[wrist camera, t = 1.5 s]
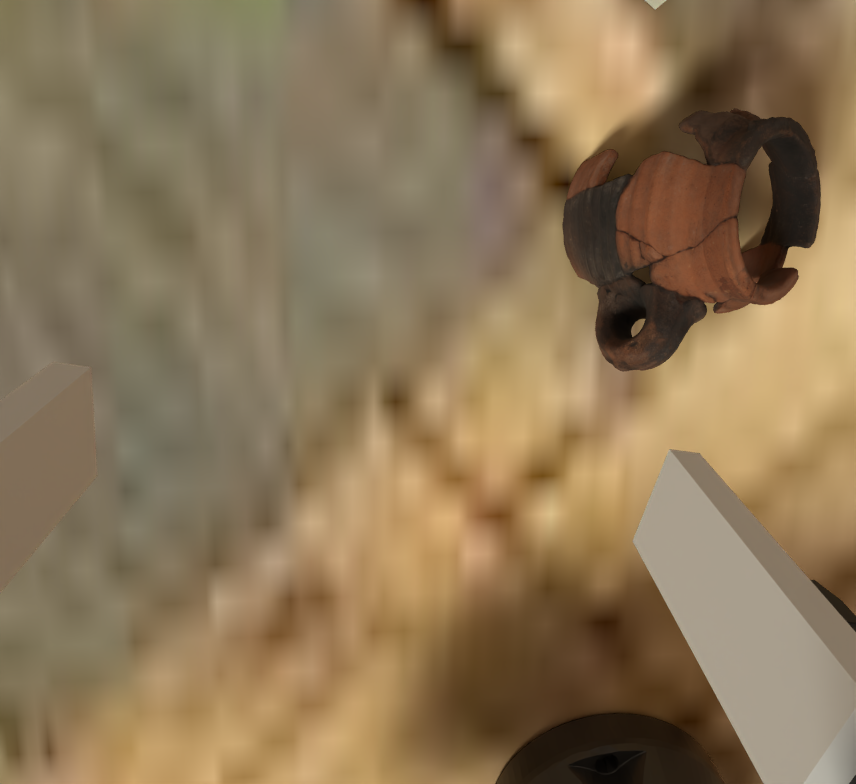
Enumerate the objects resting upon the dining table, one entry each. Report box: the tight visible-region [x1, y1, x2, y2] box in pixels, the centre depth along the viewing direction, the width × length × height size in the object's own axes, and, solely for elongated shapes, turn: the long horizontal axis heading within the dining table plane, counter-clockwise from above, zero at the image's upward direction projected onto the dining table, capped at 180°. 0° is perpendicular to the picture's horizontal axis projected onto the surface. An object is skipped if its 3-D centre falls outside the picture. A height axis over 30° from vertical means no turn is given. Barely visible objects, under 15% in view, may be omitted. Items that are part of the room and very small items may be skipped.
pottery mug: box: [563, 108, 821, 371], centre depth 27 cm, size 12×10×8 cm
